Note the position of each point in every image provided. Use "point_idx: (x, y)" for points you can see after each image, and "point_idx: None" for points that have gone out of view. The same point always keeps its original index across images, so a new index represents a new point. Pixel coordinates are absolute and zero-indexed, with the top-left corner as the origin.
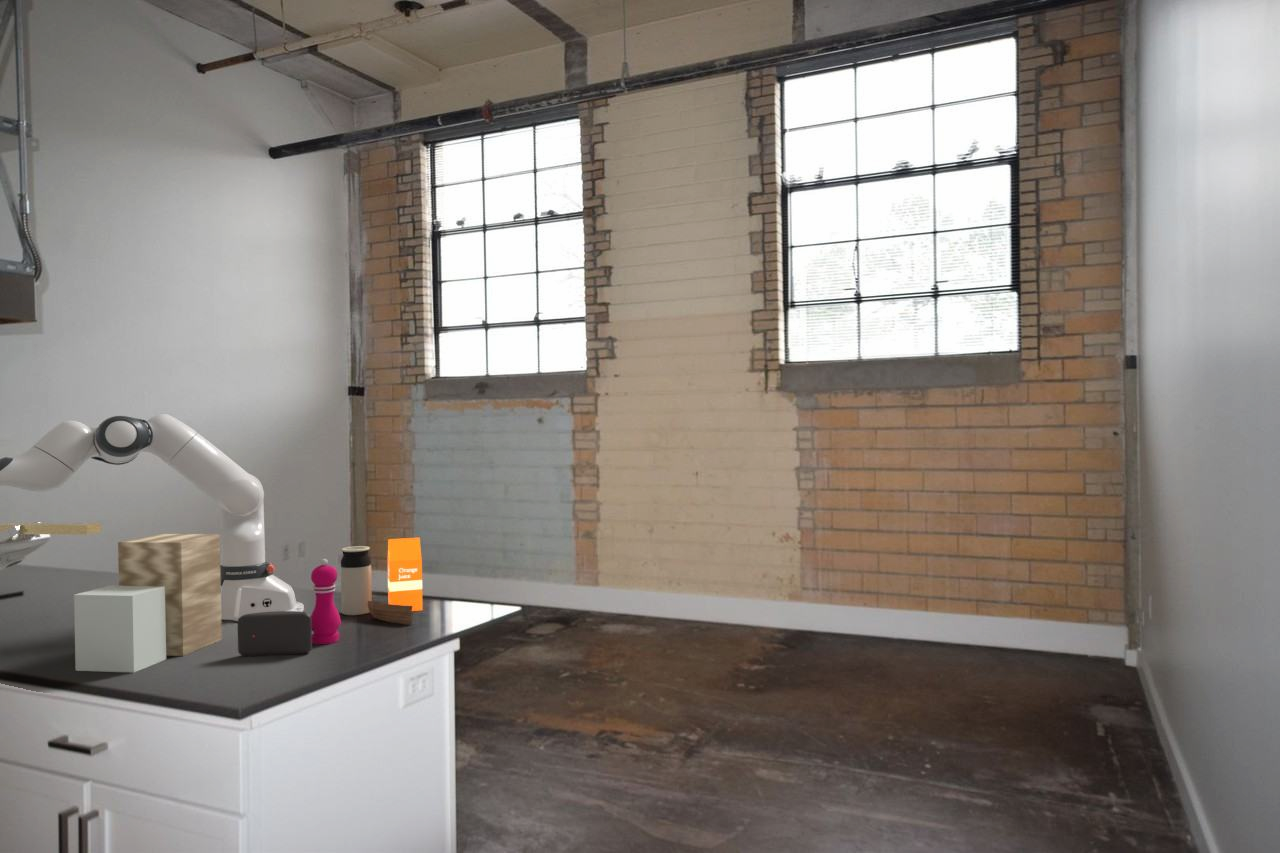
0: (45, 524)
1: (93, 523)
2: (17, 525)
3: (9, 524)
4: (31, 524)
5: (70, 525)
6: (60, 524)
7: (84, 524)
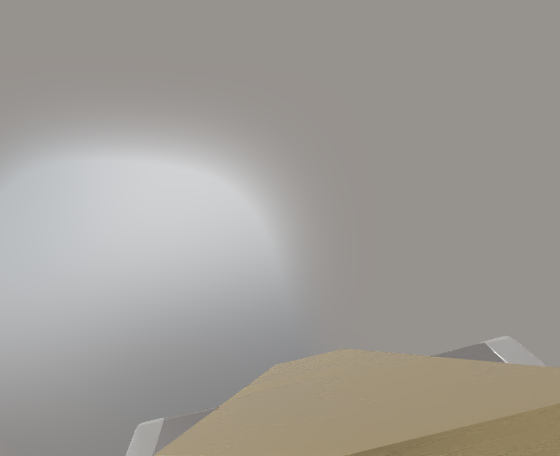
0: (335, 362)
1: (281, 364)
2: (460, 349)
3: (434, 388)
4: (354, 366)
5: (352, 349)
6: (325, 359)
7: (316, 356)
